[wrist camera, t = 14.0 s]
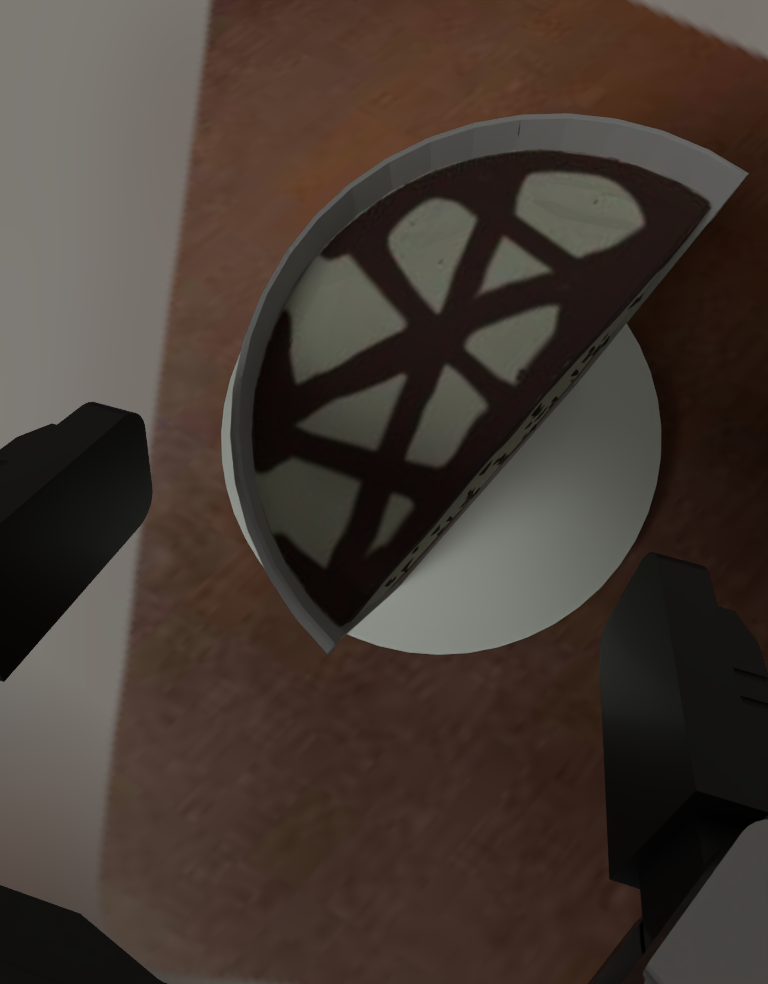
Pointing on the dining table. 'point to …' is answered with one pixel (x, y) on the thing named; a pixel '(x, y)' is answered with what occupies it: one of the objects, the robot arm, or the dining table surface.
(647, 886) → the robot arm
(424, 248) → the food container
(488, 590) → the serving plate
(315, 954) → the dining table surface
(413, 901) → the dining table surface
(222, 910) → the dining table surface
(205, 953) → the dining table surface
